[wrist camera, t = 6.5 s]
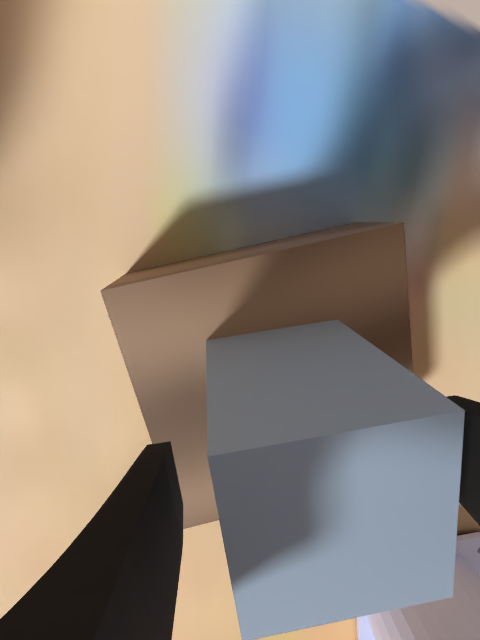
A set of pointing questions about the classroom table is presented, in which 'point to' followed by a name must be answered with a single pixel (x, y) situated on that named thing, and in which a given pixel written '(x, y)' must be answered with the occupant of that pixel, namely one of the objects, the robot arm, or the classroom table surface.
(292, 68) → the classroom table surface
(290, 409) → the grey block
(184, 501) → the walnut base
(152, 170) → the classroom table surface
